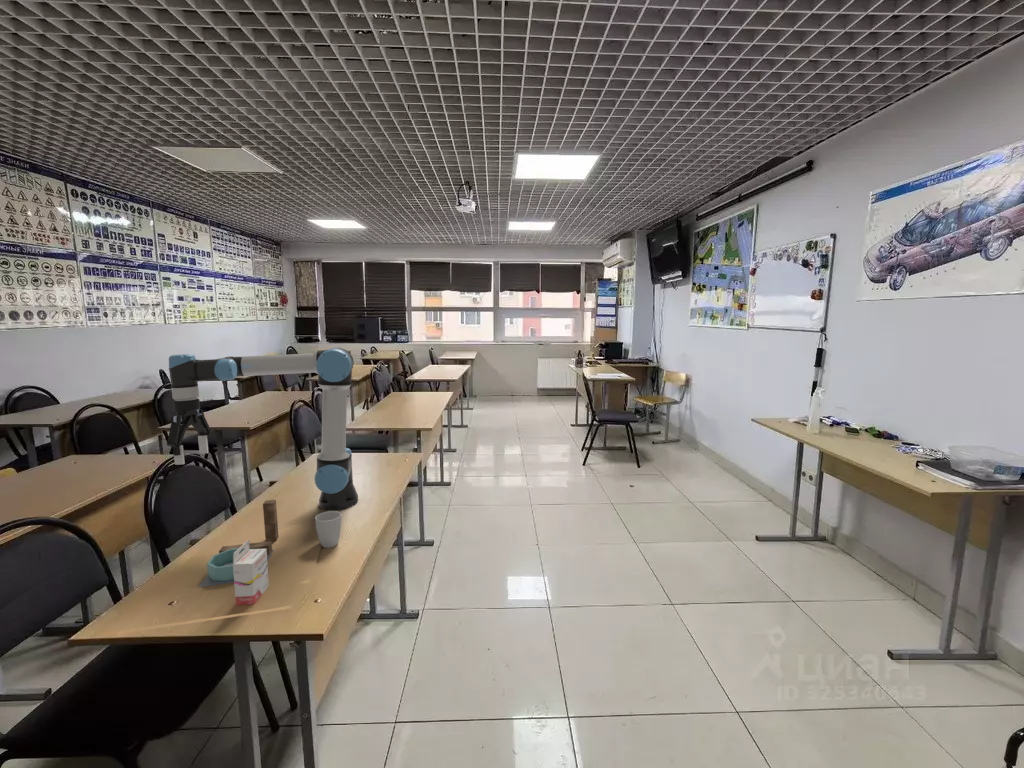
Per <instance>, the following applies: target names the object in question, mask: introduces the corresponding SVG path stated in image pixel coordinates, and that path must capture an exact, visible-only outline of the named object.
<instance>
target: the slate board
mask: <svg viewBox="0 0 1024 768" xmlns="http://www.w3.org/2000/svg"><path fill="white" fill-rule="evenodd" d="M274 551H275V549H272V552H271V554H270V555H267V563H268V562H269V560H270V558H271V556H272V554H273V553H274ZM233 583H234V580H230V581H223V582H218V581H213V580H212V579H211V578H210V576H208V574H207V575H206V576H205V577H204V579H203V580H202V582H201V583H200V584H199V586H198V588H204V587H211V586H218V585H226V584H233Z"/></svg>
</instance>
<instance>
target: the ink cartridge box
mask: <svg viewBox="0 0 1024 768" xmlns="http://www.w3.org/2000/svg"><path fill="white" fill-rule="evenodd" d="M249 543H250V539H247V541H245V542H243V545H242V546H241V547H240V548H238V549H237V550H236V551H235V552H234V554H233V573H234V596H235V597H234V598H235V606H243V605H244V606H245V605H246V606H247V605H255V604H256V603H257V601H259V599H260V598H261V596H262V595H263V594H264V593H265V591H266V590H267V589H268V588H269V569H268V562H267V549H250V550H249ZM243 548H244V550H243V551H242V552H241V553H240V554H239V552H240V551H241V549H243Z"/></svg>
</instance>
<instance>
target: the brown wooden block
mask: <svg viewBox="0 0 1024 768" xmlns="http://www.w3.org/2000/svg"><path fill="white" fill-rule="evenodd" d="M262 509H263V510H262V511H263V522H264V523H263V524H264V536H265V542H267V541H272V542H277V540H278V538H279V536H280V535H279V527H278V526H279V524H278V523H279V522H278V512H277V511H278V510H277V499H269V500H267V499H266V500H264V502H263V503H262Z"/></svg>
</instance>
